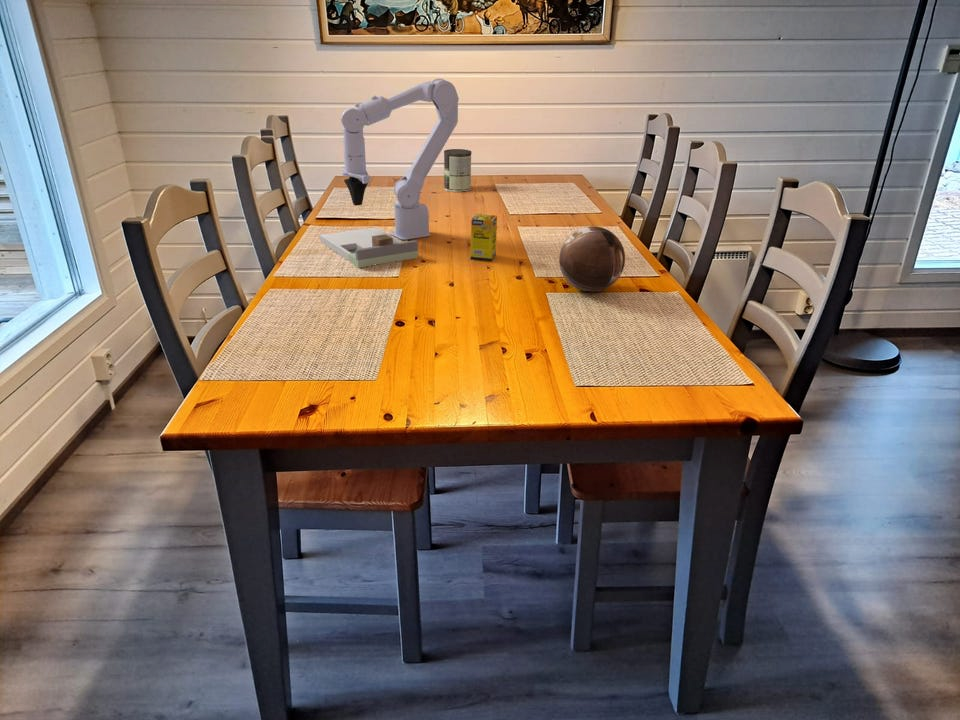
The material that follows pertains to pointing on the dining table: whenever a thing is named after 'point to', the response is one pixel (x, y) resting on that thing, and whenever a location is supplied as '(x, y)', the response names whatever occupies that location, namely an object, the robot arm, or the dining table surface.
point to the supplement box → (483, 237)
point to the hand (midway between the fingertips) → (357, 204)
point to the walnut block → (381, 240)
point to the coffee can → (457, 170)
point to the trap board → (369, 247)
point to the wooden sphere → (592, 259)
